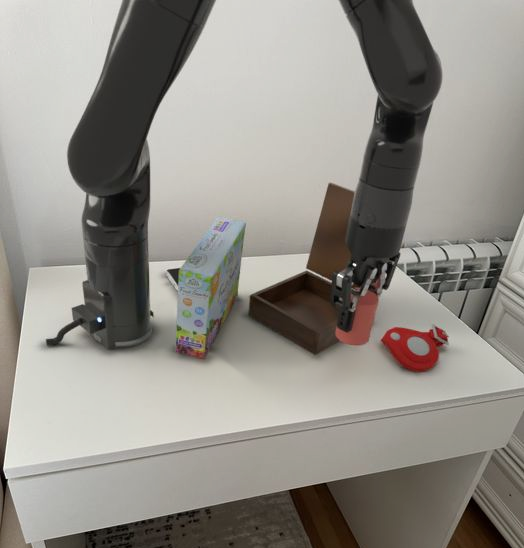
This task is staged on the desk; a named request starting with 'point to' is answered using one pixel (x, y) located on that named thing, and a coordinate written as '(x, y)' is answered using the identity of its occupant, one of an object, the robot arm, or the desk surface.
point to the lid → (332, 233)
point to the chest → (298, 311)
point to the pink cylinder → (360, 320)
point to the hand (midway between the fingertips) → (354, 322)
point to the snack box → (208, 286)
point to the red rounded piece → (415, 346)
